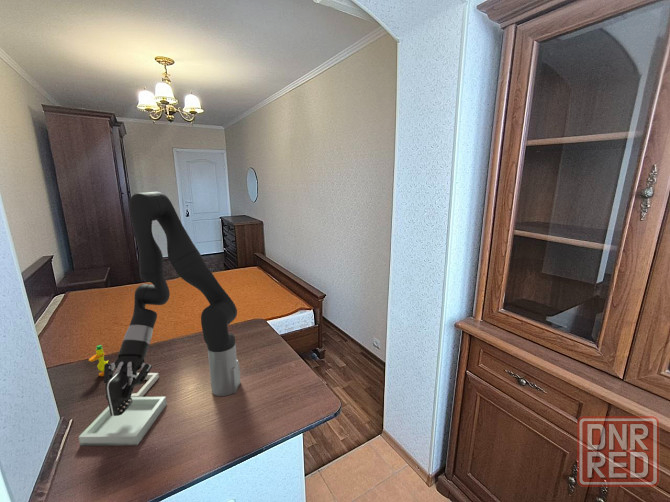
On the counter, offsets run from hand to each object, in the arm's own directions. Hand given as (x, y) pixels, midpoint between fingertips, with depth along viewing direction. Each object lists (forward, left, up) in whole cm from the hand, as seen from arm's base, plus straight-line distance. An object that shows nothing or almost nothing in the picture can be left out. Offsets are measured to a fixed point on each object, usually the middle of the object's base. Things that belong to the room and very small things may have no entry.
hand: (117, 399), depth 90 cm
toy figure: (+25, -26, -10) cm, 37 cm away
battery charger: (0, -2, -5) cm, 5 cm away
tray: (0, -2, -10) cm, 10 cm away
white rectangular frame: (+7, -18, -10) cm, 22 cm away
